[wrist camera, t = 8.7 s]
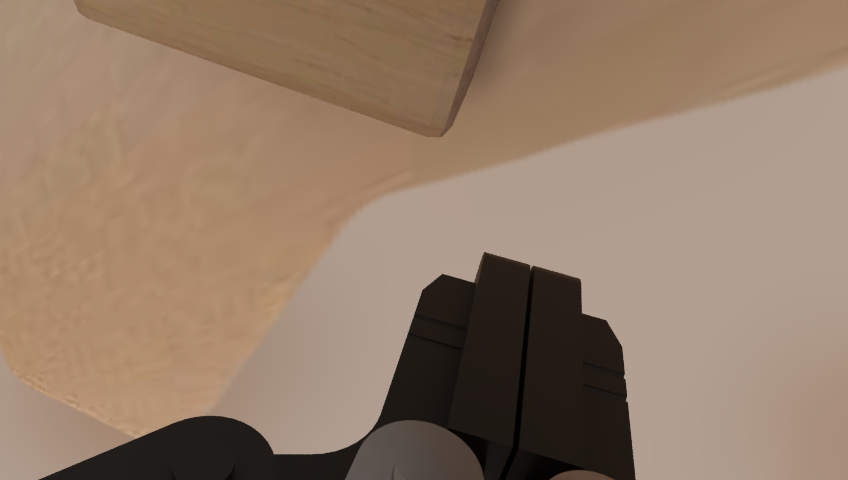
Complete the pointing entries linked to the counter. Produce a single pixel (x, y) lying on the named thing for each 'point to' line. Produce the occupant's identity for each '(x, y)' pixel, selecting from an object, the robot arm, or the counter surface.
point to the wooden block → (329, 48)
